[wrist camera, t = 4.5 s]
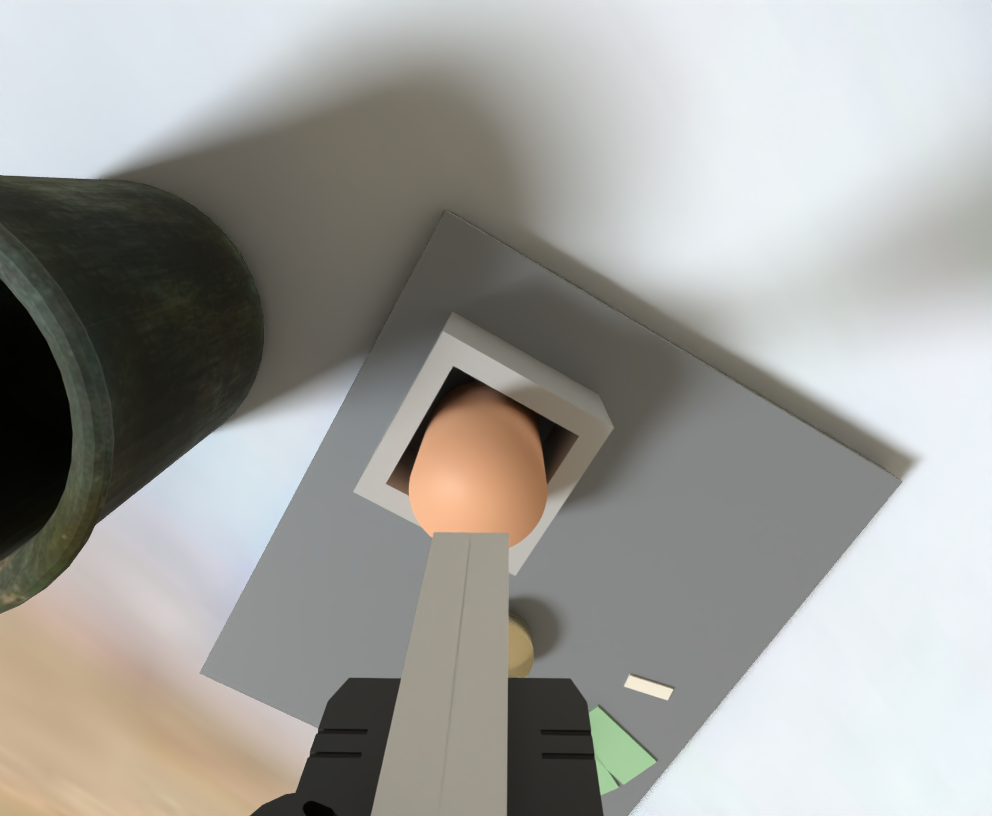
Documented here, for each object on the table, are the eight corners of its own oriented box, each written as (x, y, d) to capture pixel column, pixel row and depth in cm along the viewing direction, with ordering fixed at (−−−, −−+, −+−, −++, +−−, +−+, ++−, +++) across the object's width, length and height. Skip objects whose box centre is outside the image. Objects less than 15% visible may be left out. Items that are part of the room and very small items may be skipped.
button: (462, 360, 24) (450, 401, 19) (560, 415, 24) (573, 469, 19) (408, 453, 25) (384, 515, 20) (504, 504, 25) (502, 576, 20)
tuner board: (447, 210, 25) (433, 213, 20) (885, 469, 27) (965, 527, 23) (210, 655, 30) (155, 740, 26) (591, 833, 33) (605, 940, 28)
